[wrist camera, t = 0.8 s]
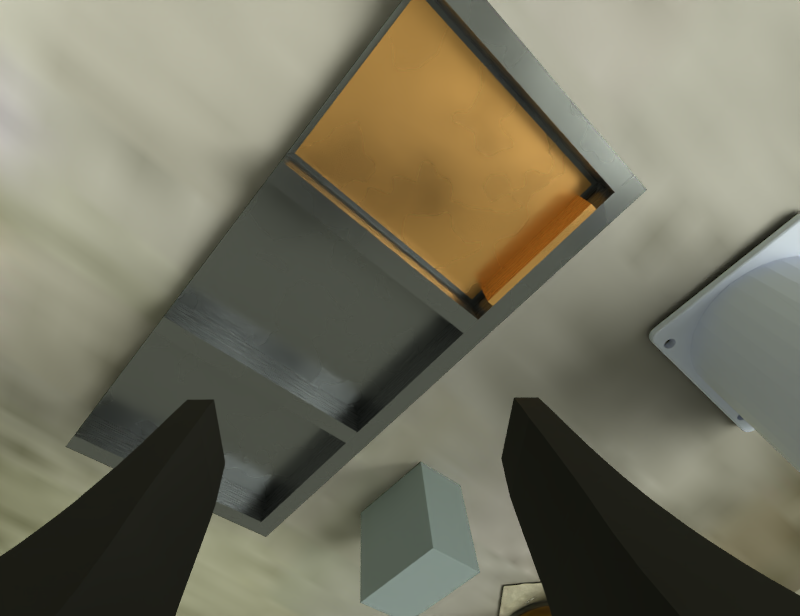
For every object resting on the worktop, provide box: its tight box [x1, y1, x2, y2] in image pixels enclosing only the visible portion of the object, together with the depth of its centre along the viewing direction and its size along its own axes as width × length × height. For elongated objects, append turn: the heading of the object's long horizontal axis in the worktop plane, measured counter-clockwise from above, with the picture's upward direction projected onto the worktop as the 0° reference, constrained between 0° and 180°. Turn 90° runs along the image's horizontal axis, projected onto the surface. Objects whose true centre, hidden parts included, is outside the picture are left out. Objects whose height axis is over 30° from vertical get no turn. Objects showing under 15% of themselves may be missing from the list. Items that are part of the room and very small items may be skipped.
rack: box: [66, 0, 647, 537], centre depth 19 cm, size 10×23×2 cm, turn 138°
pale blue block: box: [360, 462, 480, 616], centre depth 24 cm, size 3×5×5 cm, turn 138°
